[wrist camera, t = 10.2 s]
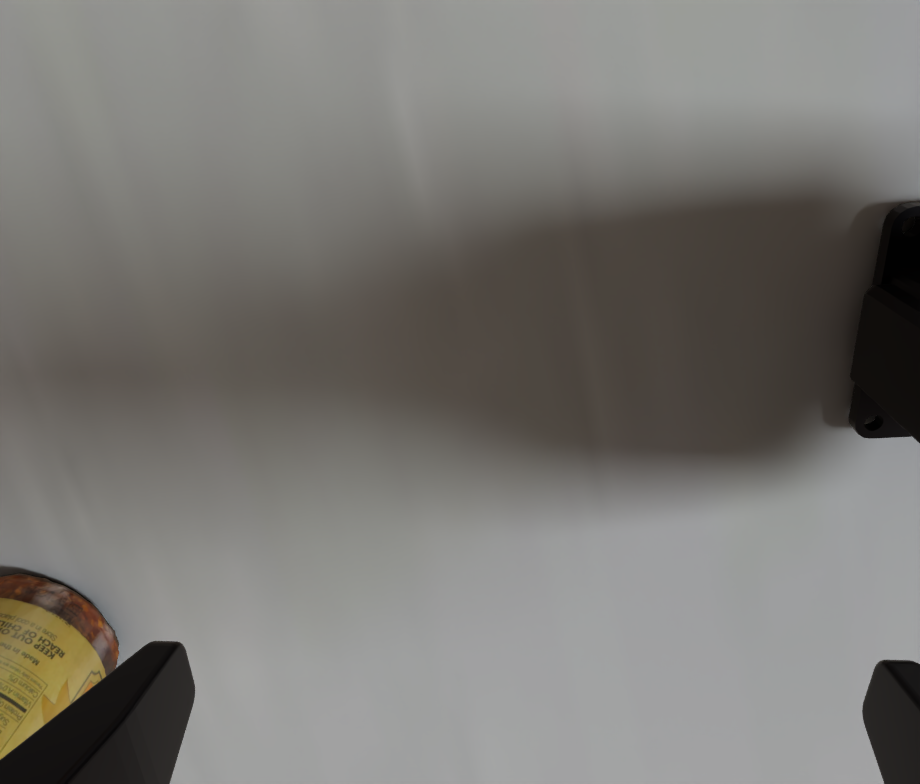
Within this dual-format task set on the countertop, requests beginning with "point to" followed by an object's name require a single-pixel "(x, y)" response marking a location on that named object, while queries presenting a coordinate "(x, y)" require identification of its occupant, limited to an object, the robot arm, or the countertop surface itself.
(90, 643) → the sauce bottle
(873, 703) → the robot arm
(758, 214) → the countertop surface
